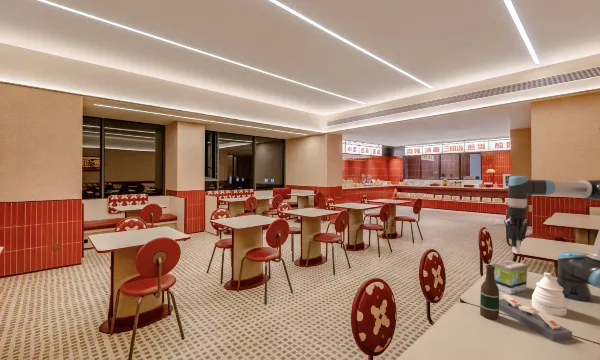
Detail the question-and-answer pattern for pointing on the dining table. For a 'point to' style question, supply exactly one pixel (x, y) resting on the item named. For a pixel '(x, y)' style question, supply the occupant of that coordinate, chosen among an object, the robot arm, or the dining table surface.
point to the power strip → (534, 322)
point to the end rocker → (548, 320)
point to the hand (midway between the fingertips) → (515, 252)
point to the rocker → (511, 300)
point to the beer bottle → (489, 295)
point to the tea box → (510, 276)
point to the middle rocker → (528, 309)
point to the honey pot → (549, 296)
